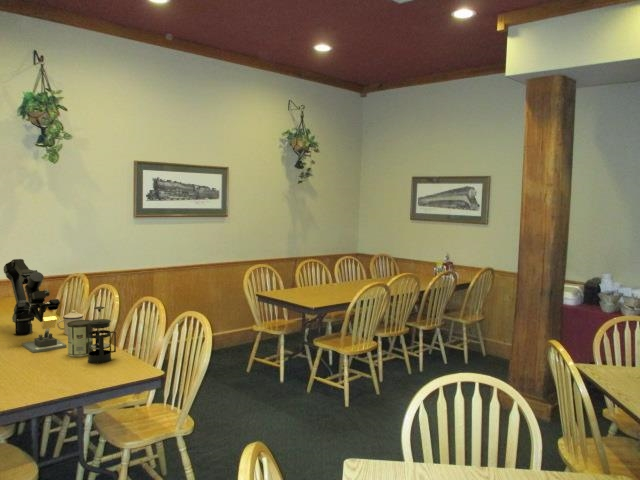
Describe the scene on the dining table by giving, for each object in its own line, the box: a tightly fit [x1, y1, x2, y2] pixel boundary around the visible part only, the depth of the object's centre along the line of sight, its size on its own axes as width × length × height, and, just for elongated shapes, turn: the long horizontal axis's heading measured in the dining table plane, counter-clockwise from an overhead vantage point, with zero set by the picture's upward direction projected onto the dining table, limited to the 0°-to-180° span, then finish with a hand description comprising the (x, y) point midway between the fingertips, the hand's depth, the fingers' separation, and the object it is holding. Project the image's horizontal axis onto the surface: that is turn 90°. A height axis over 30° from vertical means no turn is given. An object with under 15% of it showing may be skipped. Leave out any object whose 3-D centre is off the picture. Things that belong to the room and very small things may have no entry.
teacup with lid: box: [56, 309, 84, 336], centre depth 268 cm, size 12×9×12 cm
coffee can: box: [67, 319, 94, 358], centre depth 235 cm, size 10×10×14 cm
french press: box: [87, 306, 117, 365], centre depth 226 cm, size 12×9×23 cm
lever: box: [41, 315, 57, 338], centre depth 240 cm, size 2×5×11 cm
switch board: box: [21, 332, 67, 354], centre depth 245 cm, size 16×14×6 cm
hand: (41, 321), depth 247 cm, fingers closed
